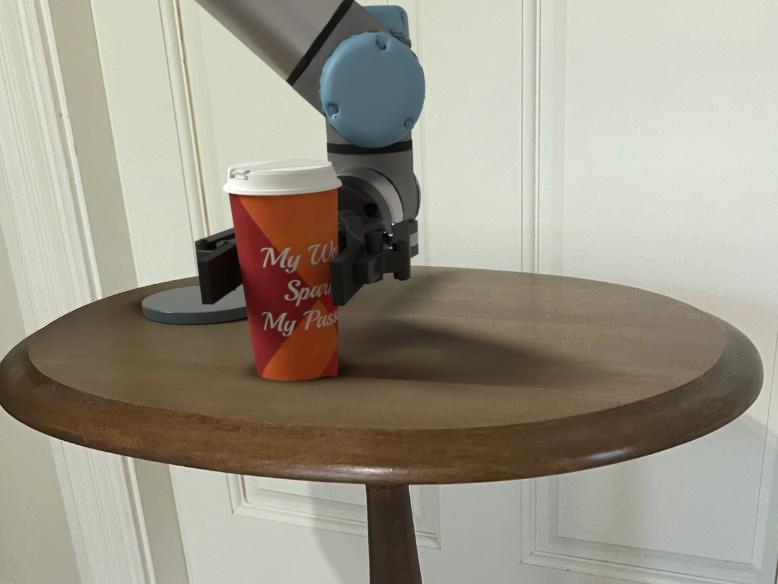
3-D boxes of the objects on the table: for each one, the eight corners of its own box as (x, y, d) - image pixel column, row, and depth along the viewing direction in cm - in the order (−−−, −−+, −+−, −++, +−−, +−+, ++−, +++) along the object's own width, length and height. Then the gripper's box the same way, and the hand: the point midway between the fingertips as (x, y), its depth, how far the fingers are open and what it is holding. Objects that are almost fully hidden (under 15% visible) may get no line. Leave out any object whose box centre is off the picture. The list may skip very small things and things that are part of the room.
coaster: (119, 321, 92) (117, 309, 92) (179, 293, 102) (178, 282, 101) (237, 327, 90) (236, 315, 89) (288, 297, 99) (287, 286, 98)
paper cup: (285, 401, 71) (265, 175, 65) (222, 378, 77) (197, 166, 70) (376, 376, 76) (366, 162, 69) (311, 355, 81) (296, 154, 74)
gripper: (475, 271, 88) (433, 345, 69) (231, 270, 92) (124, 340, 72) (475, 173, 85) (431, 221, 65) (221, 175, 88) (106, 222, 68)
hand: (270, 283), depth 69 cm, fingers open, 8 cm apart
